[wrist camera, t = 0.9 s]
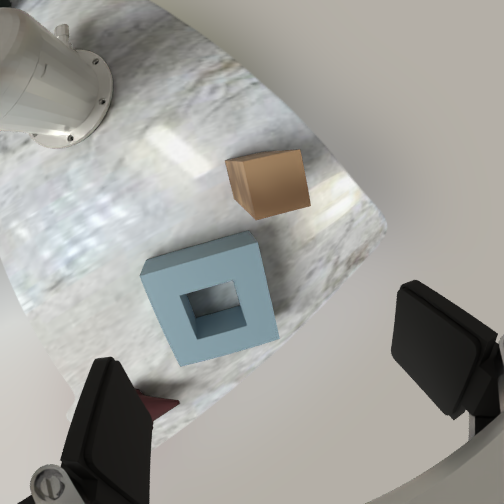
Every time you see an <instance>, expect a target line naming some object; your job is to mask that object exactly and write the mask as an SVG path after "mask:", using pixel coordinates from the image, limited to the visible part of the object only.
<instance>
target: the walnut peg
mask: <svg viewBox="0 0 504 504" xmlns="http://www.w3.org/2000/svg"><path fill="white" fill-rule="evenodd" d="M225 163H226V167H227V172H228V176H229V180H230V184H231V188H232V192H233V196H234V199H235V200H236V201H237V202H238V203H239V204H240V205H241V206H242V207H243V208H244V209H245V210H246V211H247V212H248V213H249V214H250V215H251V216H252V217H253V218H254V219H255V220H259V219H263V218H266V217H270V216H274V215H278V214H282V213H285V212H289V211H293V210H297V209H301V208H305V207H309V206H311V204H310V198H309V192H308V187H307V181H306V176H305V171H304V166H303V161H302V156H301V151H300V150H283V151H268V152H260V153H256V154H251V155H247V156H243V157H238V158H234V159H230V160H226V161H225Z"/></svg>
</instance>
